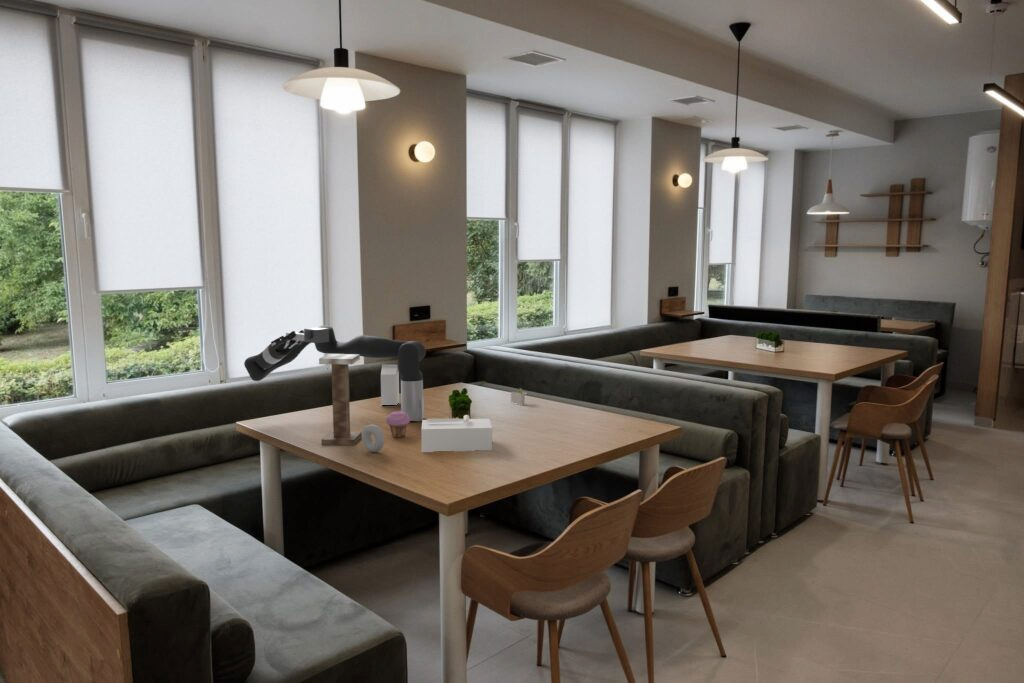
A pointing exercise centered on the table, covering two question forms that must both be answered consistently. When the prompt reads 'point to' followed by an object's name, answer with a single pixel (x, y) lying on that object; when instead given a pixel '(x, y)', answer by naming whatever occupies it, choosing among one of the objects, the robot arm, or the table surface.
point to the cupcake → (398, 423)
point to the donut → (377, 434)
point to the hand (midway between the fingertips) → (298, 332)
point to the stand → (340, 399)
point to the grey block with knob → (313, 335)
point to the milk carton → (389, 385)
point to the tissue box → (456, 434)
